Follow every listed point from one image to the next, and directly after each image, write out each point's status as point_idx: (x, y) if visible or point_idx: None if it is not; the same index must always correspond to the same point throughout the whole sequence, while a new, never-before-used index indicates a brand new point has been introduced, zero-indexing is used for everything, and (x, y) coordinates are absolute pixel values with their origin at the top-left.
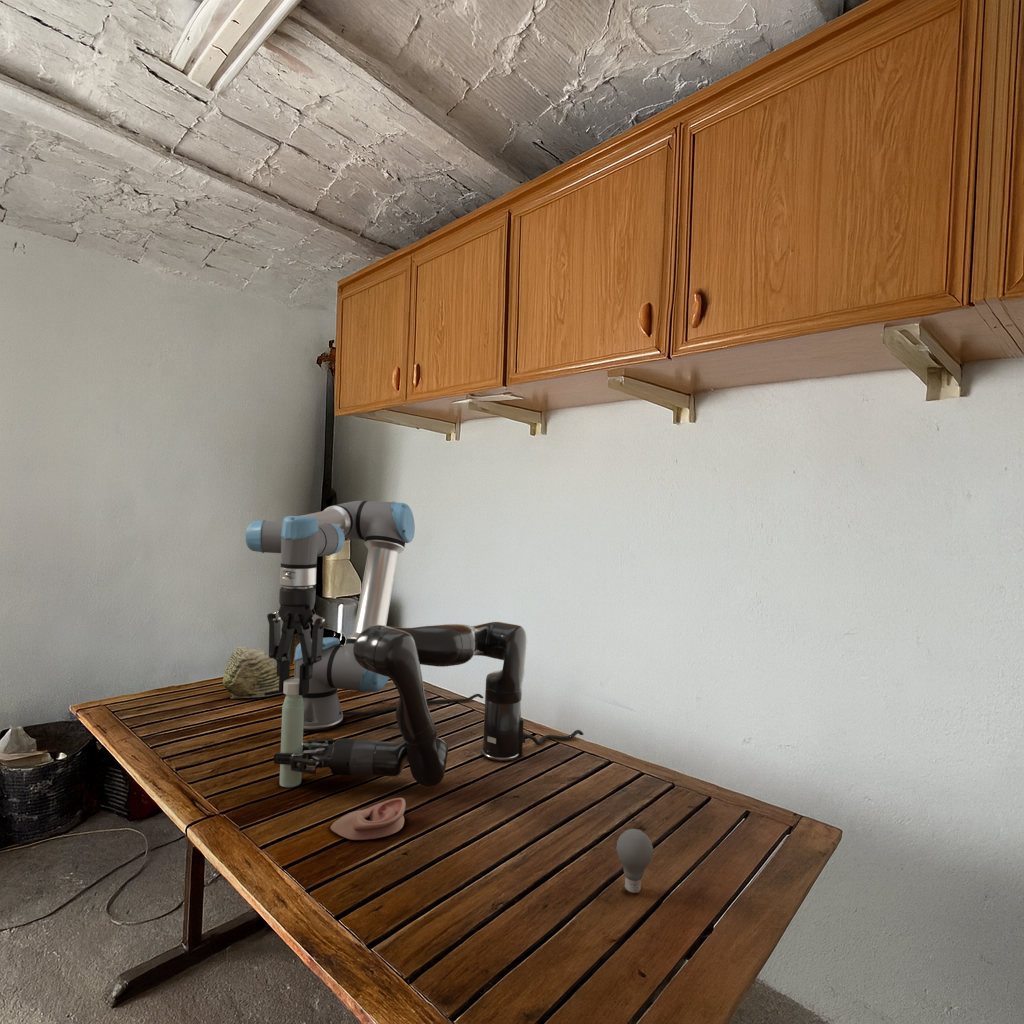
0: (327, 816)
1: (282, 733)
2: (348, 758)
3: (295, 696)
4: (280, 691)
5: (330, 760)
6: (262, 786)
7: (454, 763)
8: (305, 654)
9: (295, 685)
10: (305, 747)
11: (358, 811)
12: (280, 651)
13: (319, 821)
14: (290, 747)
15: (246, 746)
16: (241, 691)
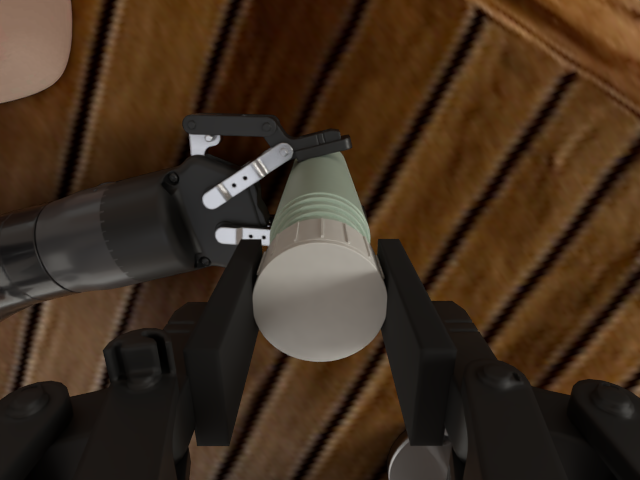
0: (119, 36)
1: (339, 174)
2: (111, 188)
3: None
4: (388, 242)
5: (166, 170)
6: (374, 127)
7: (35, 380)
8: (103, 459)
9: (274, 255)
10: None
11: (14, 36)
12: (512, 460)
13: (119, 3)
14: (303, 163)
15: (541, 307)
16: None
